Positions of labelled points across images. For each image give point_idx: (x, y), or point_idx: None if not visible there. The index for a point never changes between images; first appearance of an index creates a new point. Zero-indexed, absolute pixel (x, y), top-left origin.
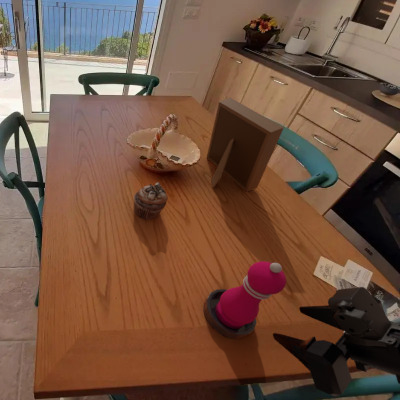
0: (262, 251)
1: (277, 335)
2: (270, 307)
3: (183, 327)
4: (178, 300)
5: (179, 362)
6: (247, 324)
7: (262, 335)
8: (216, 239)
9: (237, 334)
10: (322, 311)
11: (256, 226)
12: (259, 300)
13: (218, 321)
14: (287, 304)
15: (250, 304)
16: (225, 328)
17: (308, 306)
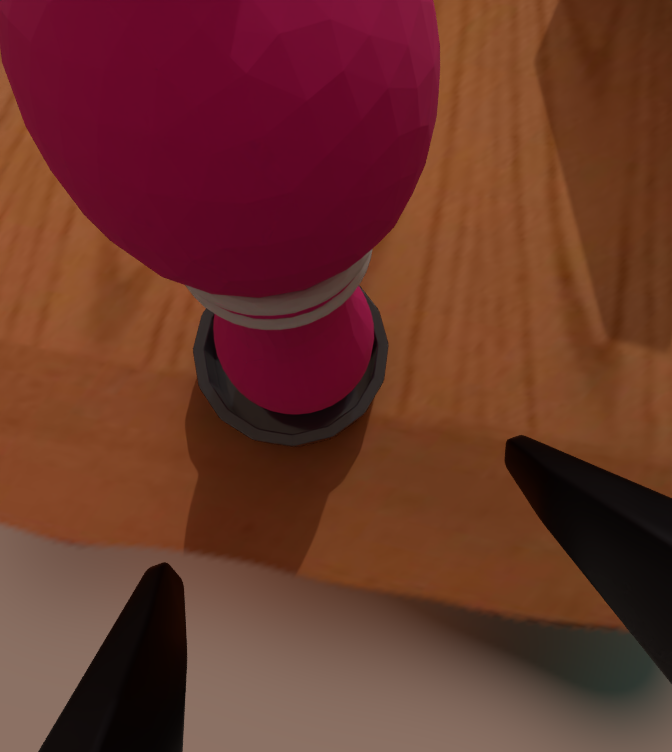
0: (611, 173)
1: (126, 607)
2: (488, 370)
3: (105, 362)
4: (150, 270)
5: (9, 467)
6: (346, 407)
7: (383, 454)
8: (456, 93)
9: (250, 437)
10: (649, 557)
11: (658, 78)
12: (270, 330)
13: (208, 374)
14: (563, 375)
15: (249, 341)
16: (215, 405)
17: (571, 457)
